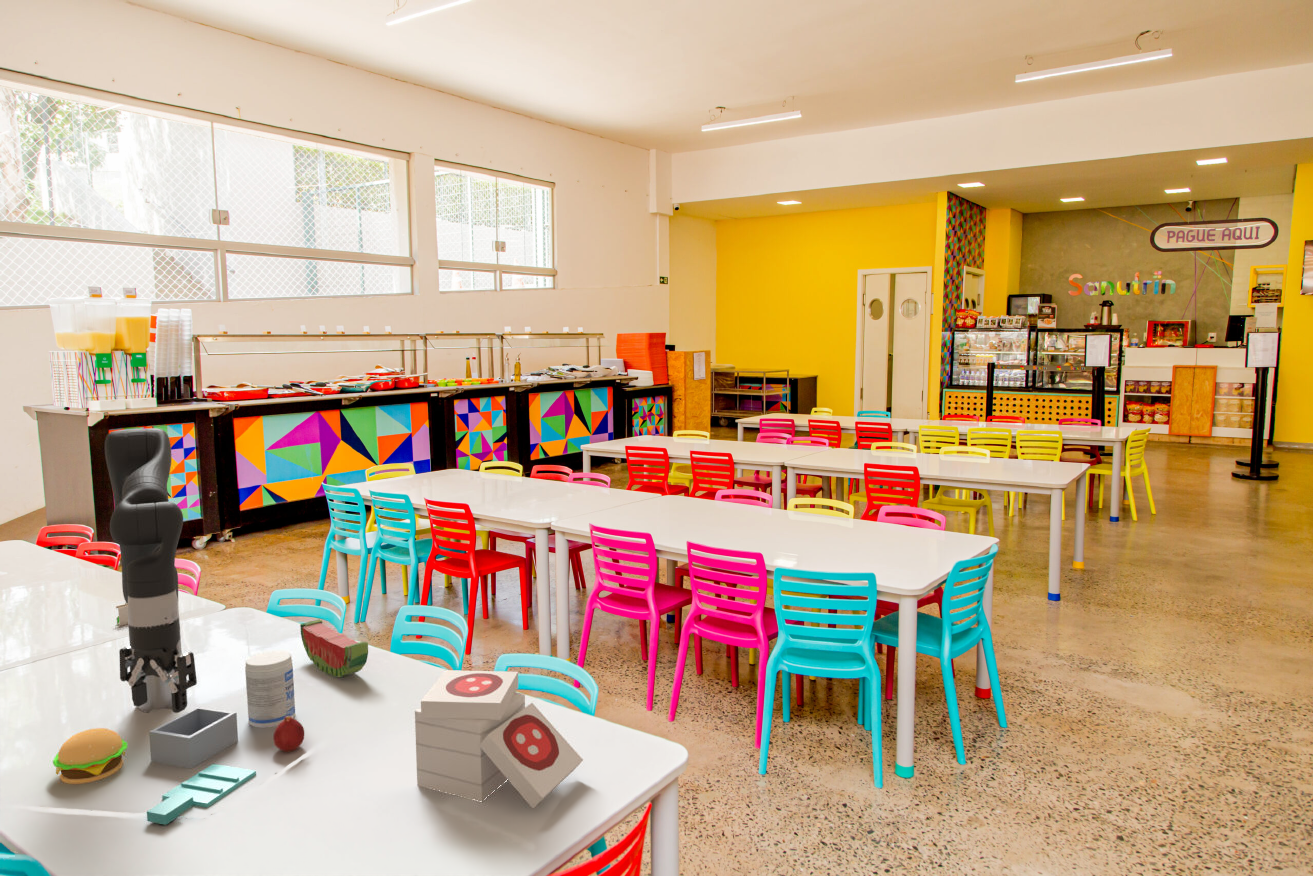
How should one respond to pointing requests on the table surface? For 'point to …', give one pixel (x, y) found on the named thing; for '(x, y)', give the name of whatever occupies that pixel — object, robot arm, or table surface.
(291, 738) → the red round fruit
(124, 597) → the robot arm
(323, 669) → the fruit slice
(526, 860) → the table surface
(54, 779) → the table surface
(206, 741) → the tub
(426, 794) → the table surface
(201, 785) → the lid
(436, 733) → the pizza boxes
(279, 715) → the supplement tub
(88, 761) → the hamburger
